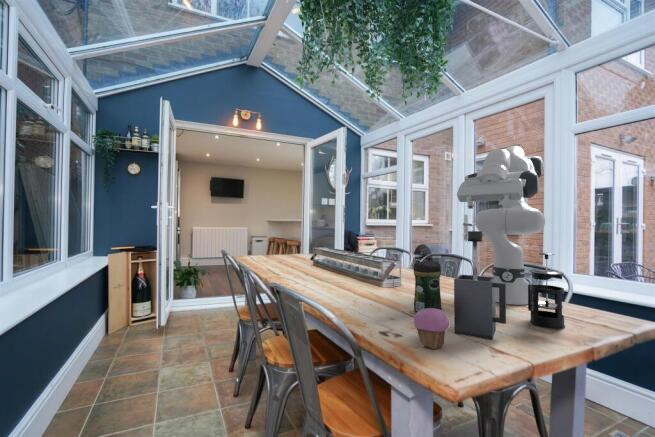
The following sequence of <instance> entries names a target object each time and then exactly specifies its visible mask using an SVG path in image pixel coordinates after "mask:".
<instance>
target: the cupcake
mask: <svg viewBox="0 0 655 437" xmlns="http://www.w3.org/2000/svg"><path fill="white" fill-rule="evenodd" d="M413 325H414V327H415V328H416V331H417V335H418V341H419V342H420V344H421V345H422V346H423V347H425V348H426V347H427V348H430V349H433V350H437V349H439V348H441V347H443V346H444V344H445V333H446V331H447V330H449V327H450V319H449V317H448V316H447V315H446V314H445V313H444V311H443V310H440V309H435V308H426V309H421V310H420V311H418V312H416V313H415V315H414V317H413Z"/></svg>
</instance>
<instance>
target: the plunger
mask: <svg viewBox="0 0 655 437" xmlns="http://www.w3.org/2000/svg"><path fill="white" fill-rule="evenodd" d="M467 242H471V243H472V275H473V280H477V276H478V243H481V242H483V233H482V231H479V230H473V231H472V230H471V231H470V230H468V231H467Z"/></svg>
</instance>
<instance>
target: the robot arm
mask: <svg viewBox="0 0 655 437" xmlns="http://www.w3.org/2000/svg"><path fill="white" fill-rule="evenodd" d="M544 170H545V163H544V161H543V159H542V157H541V156H537V155H531V156H526V153H525V151H524V149H523V148H521V146H520V147H519V146H517V145H511V146H508V147H506V148H503V149H502V148H496V149H493V150H490V151H489V152H488V153H487V154H486V157H485V158H484V161H483V163H482V167H481V170H479V171H477V172H474V173H470V174H467V175H465V176H464V181H463V182H461V184H459V187H458V189H457V191H456V192H457V193H456V197H457V200H458V201H459V202H460V203H466V204H467V209H469V210H470V209H474V207H475V204H474V202H475V203H476V202H496V201H498V205H497V206H498V208H489V209H488V208H487V209H484V210H480V211H479V212H478V213H477V214H476V216H475V218H474V225H475V227H476V229H477V231H482V235H484V236H485V237H486V238H487V239H488V242H489V244H490V246H491V248H492V254H493V255H492V258H493V266H492V269H491V271H492V276H491V277H496V283H506V305H514V306H515V305H517V306H521V305H528V285H530V282H528V281H527V279H525V277H526V268H525V267H524V266H525V265H524V256H525V253H524V250H523V248H522V247H521V246H520V245H518V244H516V243H514V242H512V241H510V240H509V239H508V237H507V235H522V236H523V235H524V236H526V235H528V236H529V235H535V234H539V233H540V232H541V231H543V229H544V227H545V224H546V218H545V215H544V214H543V213H542V211H540V209H537V208H534V207H531V206H530V205H528V203H529V199H531V198H533V197H534V196H536V195H537V194H538V192H539V190H540V186H541V185H540V184H541V183H540V178H541V177H542V176H543V173H544ZM496 303H499V288H496Z"/></svg>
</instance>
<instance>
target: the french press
mask: <svg viewBox="0 0 655 437" xmlns="http://www.w3.org/2000/svg"><path fill="white" fill-rule="evenodd" d="M538 255H543V256H544V260H545V269H537V270H536V269H534V270H533V269H532V270H530V273H531V278H532V279H535V280H539V281H540V280H541V281H545V284H530V283H529V285H528V304H527V309H528V311H529V312H530V320H529V323H530V324H531V325H533V326H535V327H539V328H542V329H543V328H544V329H550V330H562V329H563V330H564V329H566V325H565V315H563V307H564V305H563V294H565V288H564V287H561V286H557V285H556V286H555V285H548V280H551V279H559V280H563V275H565V273H564V272H562V271H556V270H550V269H548V260H549V256H555V254H554V253H551V252H539V253H538ZM539 294H544V295H545V301H539ZM549 295H554V302H549V300H548V298H549V297H548V296H549ZM540 309H543V310H540ZM548 310H554V311H548Z"/></svg>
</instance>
